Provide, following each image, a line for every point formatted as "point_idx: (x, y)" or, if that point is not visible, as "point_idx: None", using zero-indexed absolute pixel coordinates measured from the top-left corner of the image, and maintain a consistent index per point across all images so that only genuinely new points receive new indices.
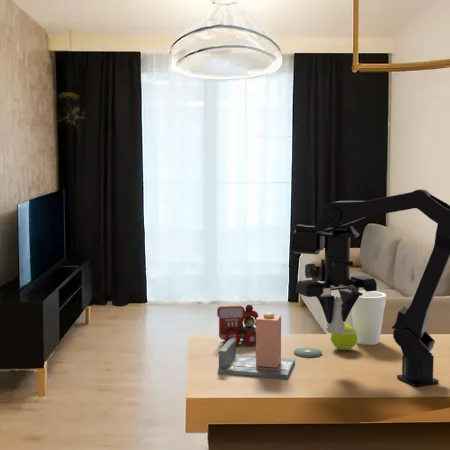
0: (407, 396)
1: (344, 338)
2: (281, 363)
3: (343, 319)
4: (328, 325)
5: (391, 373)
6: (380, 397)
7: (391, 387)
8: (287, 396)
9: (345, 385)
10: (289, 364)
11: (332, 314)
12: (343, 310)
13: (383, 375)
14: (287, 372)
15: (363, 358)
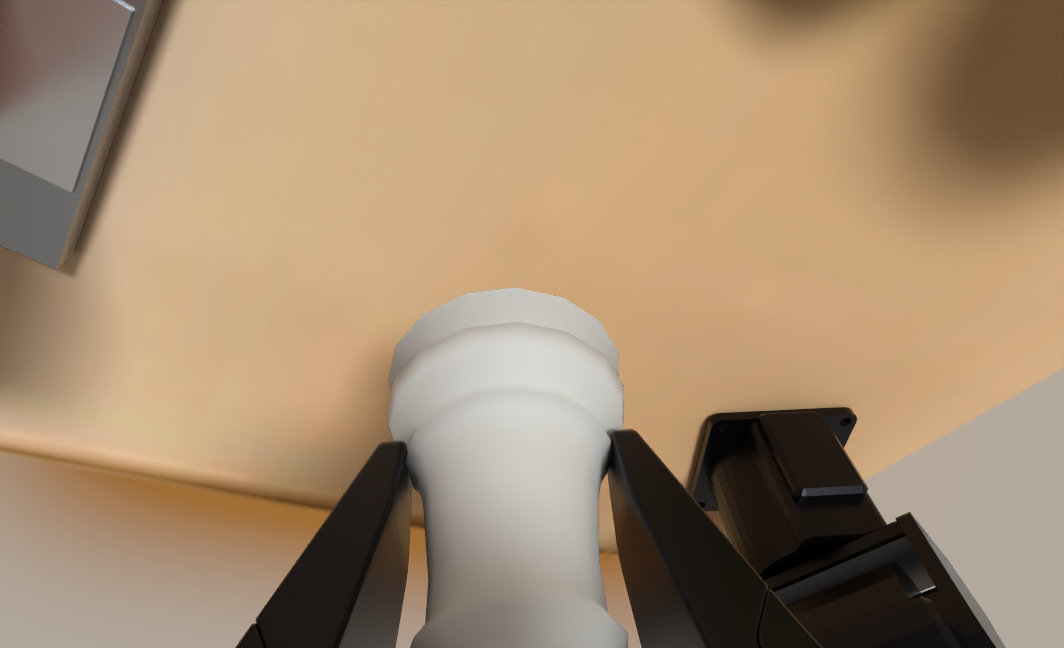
0: None
1: None
2: (9, 13)
3: (612, 492)
4: (392, 434)
5: (747, 356)
6: None
7: None
8: (56, 445)
9: None
10: (95, 71)
11: (392, 638)
12: (652, 598)
13: (685, 366)
14: (62, 228)
15: (860, 43)
